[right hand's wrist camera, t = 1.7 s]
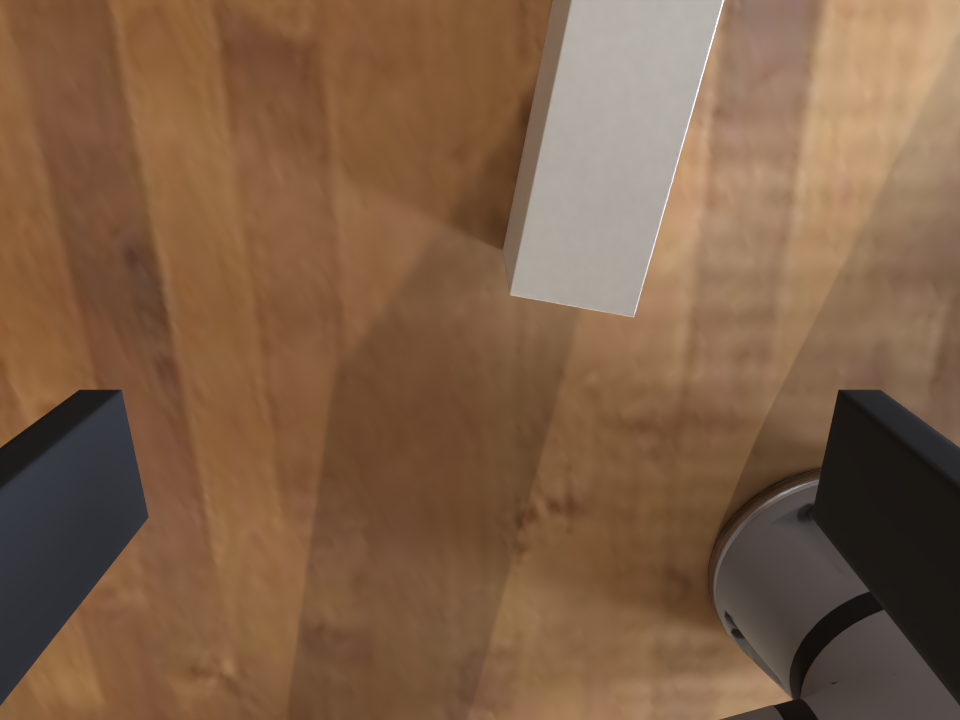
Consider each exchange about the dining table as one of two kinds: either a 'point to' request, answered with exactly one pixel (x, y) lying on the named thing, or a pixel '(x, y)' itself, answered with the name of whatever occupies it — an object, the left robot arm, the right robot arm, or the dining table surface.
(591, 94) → the post
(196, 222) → the dining table surface
